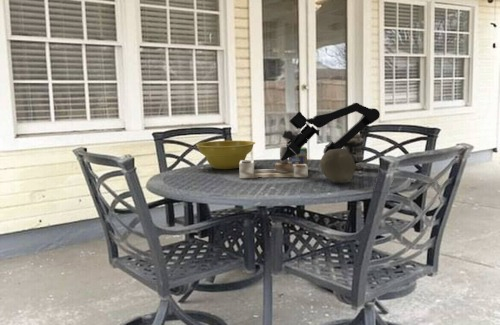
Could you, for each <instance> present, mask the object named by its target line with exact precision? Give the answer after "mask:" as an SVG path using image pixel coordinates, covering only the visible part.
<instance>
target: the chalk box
mask: <svg viewBox="0 0 500 325" xmlns="http://www.w3.org/2000/svg"><path fill="white" fill-rule="evenodd" d="M288 162H292V164H306V165H307V167H308V168H309V166H308V148H307V147H305V146H303V147H302V148H301V149H300V153H299V154H298V155H297V154H296V155H295V156H292V157H290V158H288Z"/></svg>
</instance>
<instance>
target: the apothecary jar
mask: <svg viewBox="0 0 500 325" xmlns="http://www.w3.org/2000/svg"><path fill="white" fill-rule="evenodd" d="M345 133H346V132H344V133H343V134H342V136H343V135H344V134H345ZM364 143H365V142H364V138H362V135H361V133H360V132H359V133H358V134H357V135H355V136H354V137H353V138H352V139H351V140H350V141H349V142H348V143H346V144H345V145H344V146H343V147H342V149H344V150H346V151H348V152H349V153H350V154H351V155H352V158H353V160H354V162H355V171H356V170H357V171H358V170H362V166H359V165H357V164H359V163H361V162H362V161H364V159H365V157H364V155H363V153H362V145H363V144H364Z"/></svg>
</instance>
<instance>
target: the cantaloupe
mask: <svg viewBox="0 0 500 325" xmlns="http://www.w3.org/2000/svg"><path fill="white" fill-rule="evenodd" d="M320 168H321V171H322V174H323V175H324V177H326V178H327V179H328V180H329V181H330V182H332V183H335V184H339V185H340V184H345V183H347V182H350V181H351V180H352V178H353V177H354V173H355V171H356V170H355V162H354V160H353V158H352V155H351V154H350V153H349V152H348V151H346V150H344V149H332V150H329V151H327V152H326V153H325V154H324V153H323V155H322V157H321V158H320Z"/></svg>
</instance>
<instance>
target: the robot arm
mask: <svg viewBox="0 0 500 325" xmlns="http://www.w3.org/2000/svg"><path fill="white" fill-rule="evenodd" d="M353 113H358V114H360V115H361V117H360V118H359V120H358V121H356V123H355V124H354V125H353V126H351V127H350V128H349V129H348V130H347V131H346V132H344V133H345V134H344V133H343V134H344V135H343V134H342V136H341V137H339V138H338V139H337V140H335V141H333V140H329V142H328V144H326V145H325V146H324V148H323V155H324V154H325V153H326V152H327V151H329V150H332V149H342V147H343V146H344V145H345V144H346V143H348V142H349V141H350V140H351V139H352V138H353V137H354V136H355V135H357V134H358V133H359V134H360V132H361V131H362V130H364V128H366V127H367V126H369V125H371V124H372V123H374V122H376V121H377V120H379V119H380V117H381V116H380V115H381V113H380V110H378V109H376V108H375V107H374V108H369V107H367V106H365V105H362V104H360V102H353V103H352V104H350V105H346V106H344V107H342V108H339V109H336V110H334V111H330V112H327V113H322V114H316V115H314V116H313V117H312V118H307V117H305V115H303V114H302V112H301V111H298V112H297V113H296V114H294V115H292V117H291V118H290V119H288V120H289V121H288V122H289V123H290V124H291V125H292V126H293V127H294V128H295V129H297V130H299V129H300V131H299V132H298V133H296V134H294V133H293V131H292V130H284V131H283V132H282V135H281V137H282V138H284V139H288V141H287V142H286V146H285V147H287V151H286V152H285V154H284V155H283V157H282V158H281V160H282V161H283V160H286V159H288V160H289V158H290V157H292V156H295V155H296V154H297V155H298V154H299V153H300V149H301V148H302V147H304V145H306V144H308V141H309V140H310V139H312V138H313V137H314V135H316V136H320V129H316V128H323V127H325V126H326V125H329V123H331V122H333V121H334V120H337V119H339V118H342V117H344V116H345V117H346V116H348V115H350V114H353ZM311 125H312V126H311Z"/></svg>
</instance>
